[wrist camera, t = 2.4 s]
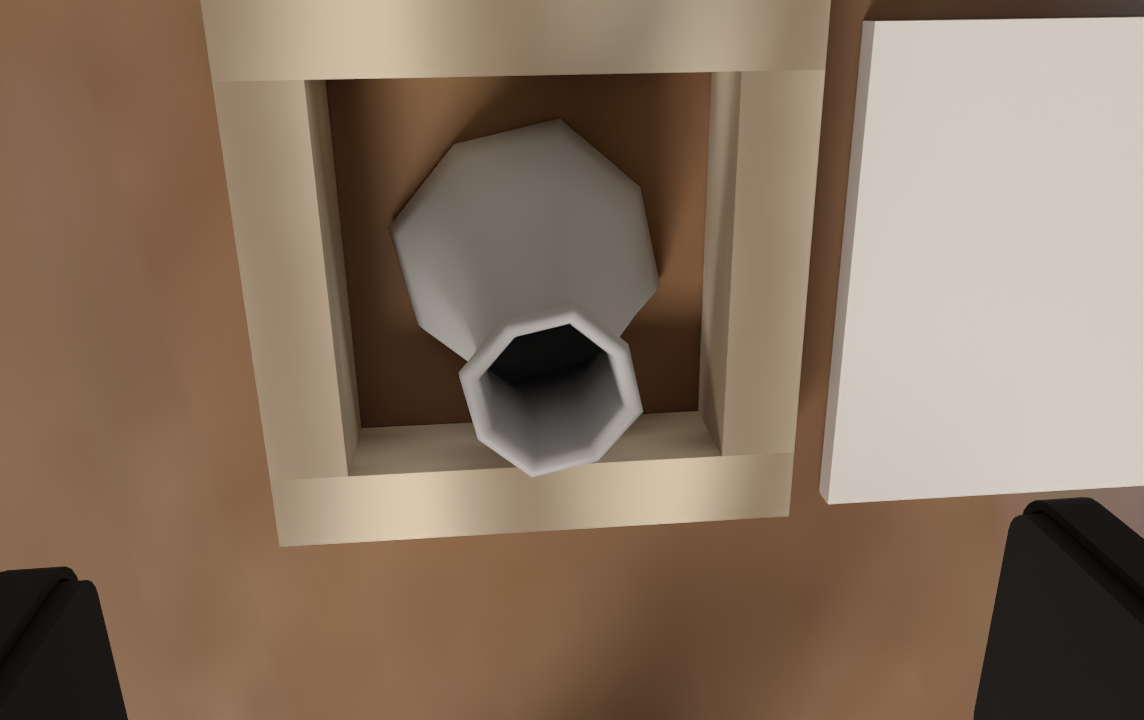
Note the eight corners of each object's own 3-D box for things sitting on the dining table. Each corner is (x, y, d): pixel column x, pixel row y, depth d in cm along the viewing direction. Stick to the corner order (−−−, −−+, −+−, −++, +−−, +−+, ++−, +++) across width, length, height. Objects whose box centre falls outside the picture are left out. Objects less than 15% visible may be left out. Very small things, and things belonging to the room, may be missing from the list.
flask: (700, 291, 27) (818, 445, 17) (489, 419, 28) (493, 630, 18) (570, 67, 24) (625, 107, 15) (341, 215, 25) (259, 339, 16)
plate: (1357, 13, 26) (1383, 13, 25) (1233, 467, 31) (1252, 479, 30) (863, 20, 24) (874, 21, 24) (818, 491, 29) (827, 504, 29)
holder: (791, -20, 24) (832, -23, 21) (758, 466, 29) (788, 516, 26) (232, -14, 23) (198, -16, 20) (299, 492, 28) (279, 546, 25)
